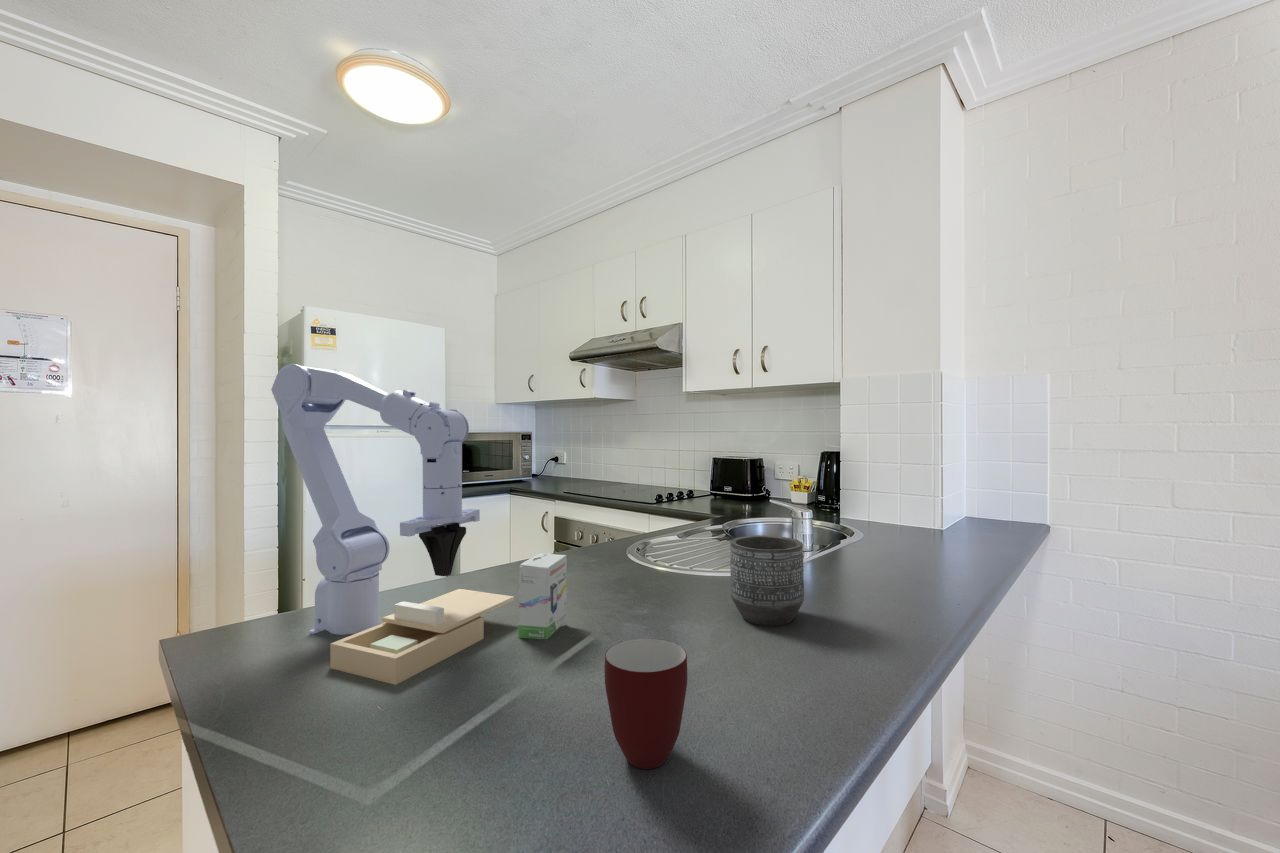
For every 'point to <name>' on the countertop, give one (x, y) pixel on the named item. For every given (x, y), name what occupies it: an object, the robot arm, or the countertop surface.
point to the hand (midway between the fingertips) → (443, 574)
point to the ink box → (542, 595)
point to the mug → (646, 698)
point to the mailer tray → (399, 667)
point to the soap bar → (393, 644)
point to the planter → (767, 578)
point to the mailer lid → (446, 610)
